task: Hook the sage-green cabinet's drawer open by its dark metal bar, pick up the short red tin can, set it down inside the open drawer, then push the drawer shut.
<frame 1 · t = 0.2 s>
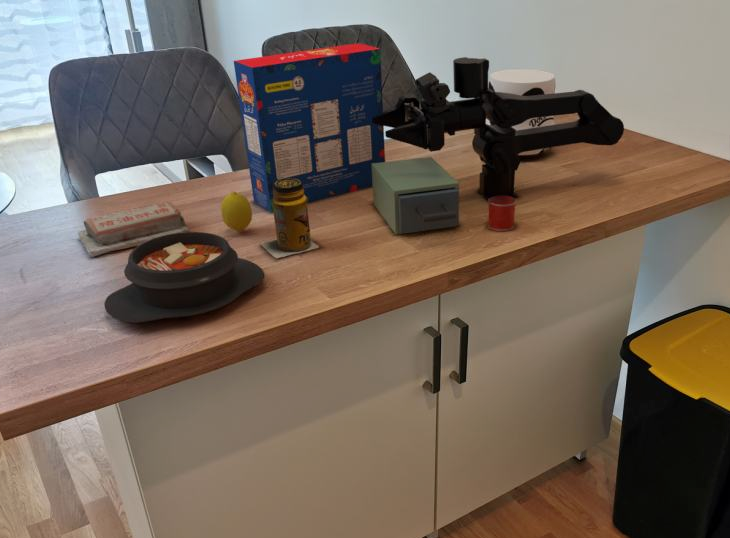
hand: (378, 127, 138), 17 cm above the worktop, tool horizontal, fingers open, 9 cm apart
casserole: (189, 299, 116), on the worktop
can: (501, 225, 139), on the worktop
cabinet: (414, 214, 145), on the worktop
lemon: (239, 232, 138), on the worktop
drawer: (422, 203, 138), point 4 cm above the worktop, slide at 0.5 cm
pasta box: (321, 192, 156), on the worktop
condiment: (290, 247, 132), on the worktop
milk container: (518, 152, 178), on the worktop
packaged product: (135, 238, 137), on the worktop
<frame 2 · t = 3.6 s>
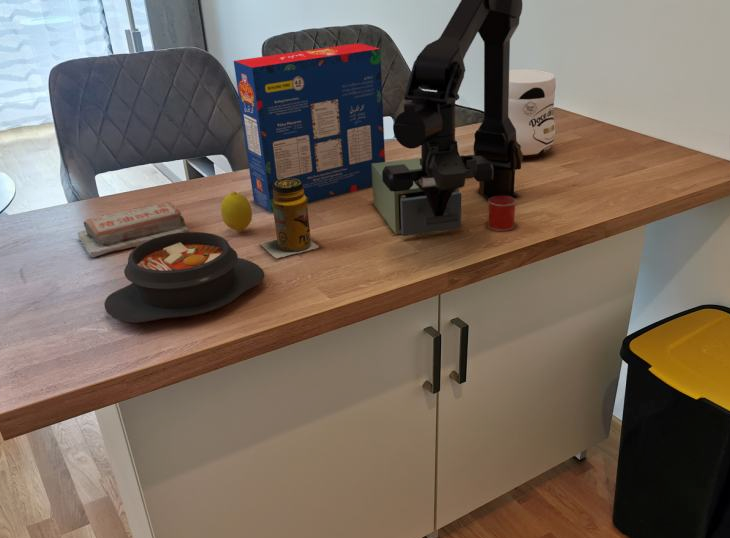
hand: (438, 219, 130), 5 cm above the worktop, tool pointing down, fingers closed, pressing on drawer
drawer: (424, 205, 137), point 4 cm above the worktop, slide at 1.8 cm, touching gripper
everything else where it was.
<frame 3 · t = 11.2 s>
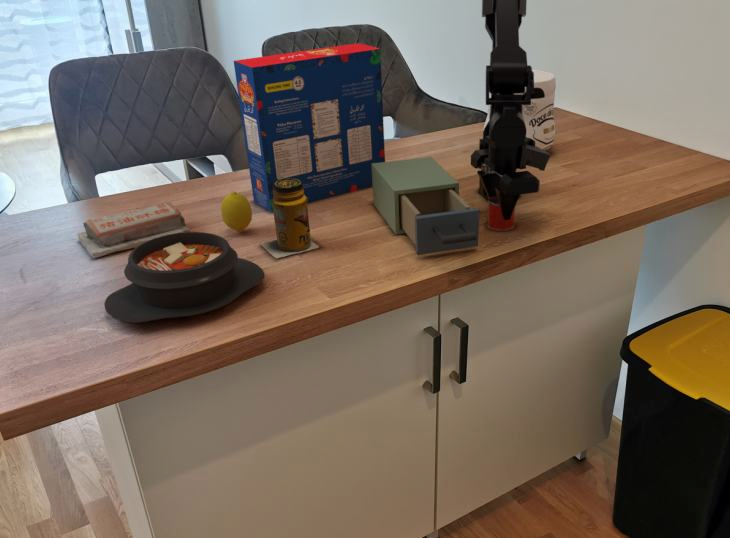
hand: (501, 214, 138), 2 cm above the worktop, tool pointing down, fingers closed on can, 5 cm apart
can: (500, 225, 139), on the worktop, touching gripper
drawer: (439, 222, 130), point 4 cm above the worktop, slide at 10.6 cm
everything else where it was.
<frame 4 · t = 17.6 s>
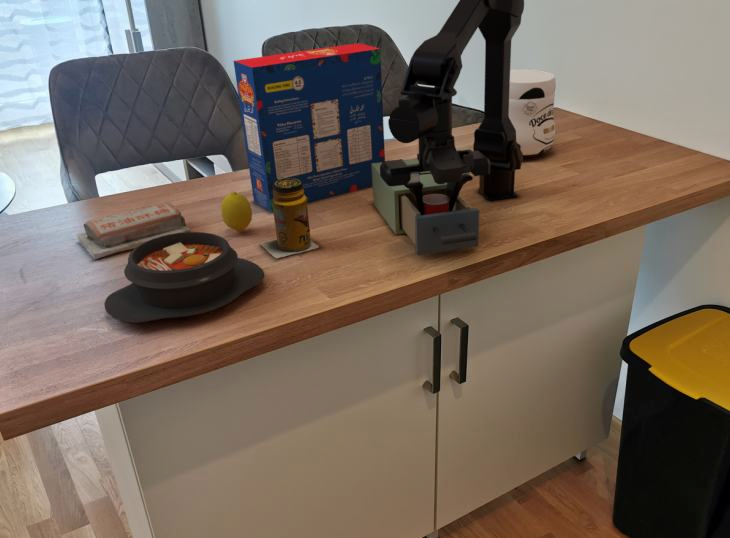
hand: (435, 214, 131), 5 cm above the worktop, tool pointing down, fingers closed on can, 5 cm apart
can: (435, 226, 133), point 3 cm above the worktop, touching gripper
everything else where it was.
when the fingers open (6 cm above the worktop, at t = 25.9 s): can drops 2 cm, resting on drawer.
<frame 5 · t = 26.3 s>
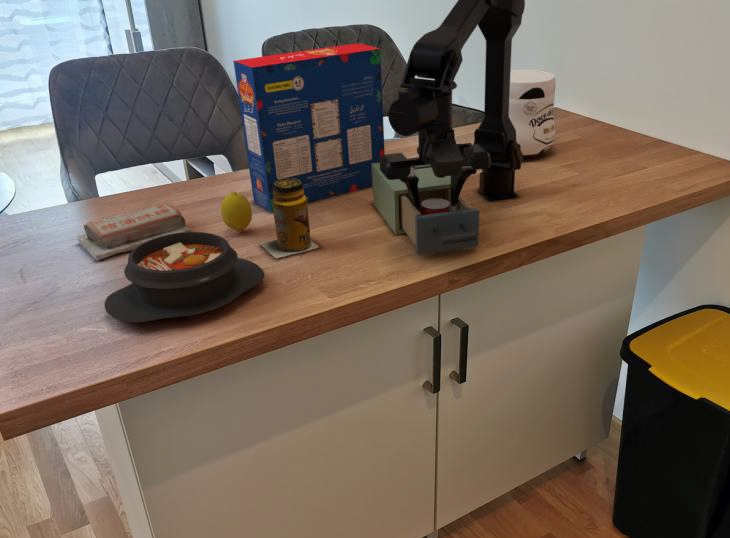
hand: (435, 208, 131), 6 cm above the worktop, tool pointing down, fingers open, 6 cm apart
can: (435, 230, 133), point 2 cm above the worktop, touching drawer
drawer: (439, 222, 130), point 4 cm above the worktop, slide at 10.6 cm, touching can, gripper
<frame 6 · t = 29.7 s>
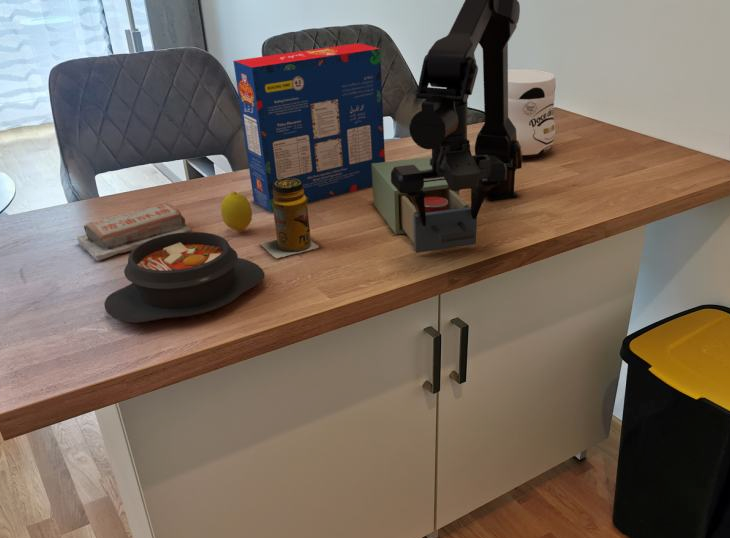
hand: (449, 221, 125), 6 cm above the worktop, tool pointing down, fingers open, 9 cm apart
drawer: (437, 220, 131), point 4 cm above the worktop, slide at 9.7 cm, touching can, gripper
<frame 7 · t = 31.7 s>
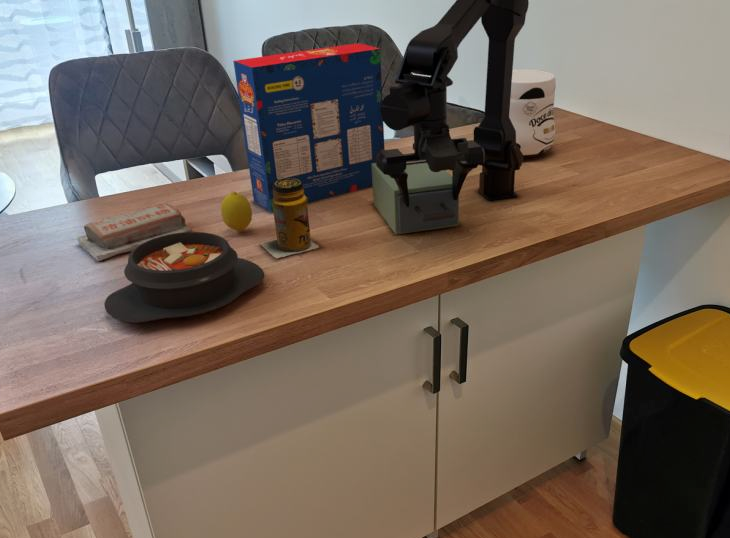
hand: (431, 203, 133), 6 cm above the worktop, tool pointing down
can: (418, 209, 142), point 2 cm above the worktop, touching drawer
drawer: (421, 202, 139), point 4 cm above the worktop, slide at 0.0 cm, touching cabinet, can, gripper
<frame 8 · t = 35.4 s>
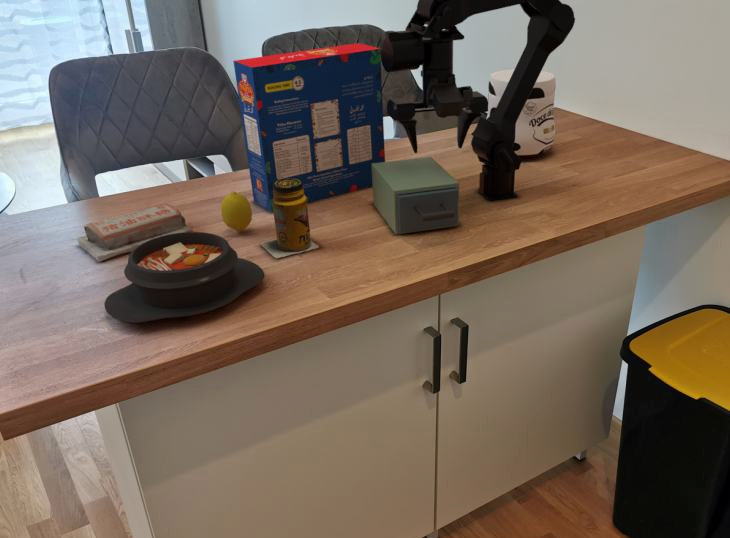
hand: (437, 150, 142), 12 cm above the worktop, tool pointing down, fingers open, 9 cm apart
drawer: (421, 202, 139), point 4 cm above the worktop, slide at 0.0 cm, touching can
at the end: drawer pulled out 10.6 cm at the most during the clip, back to where it started at the end; can inside the target area in the cabinet (2.6 cm from its centre), point 2.0 cm above the cabinet's base; drawer slide at 0.0 cm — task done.
